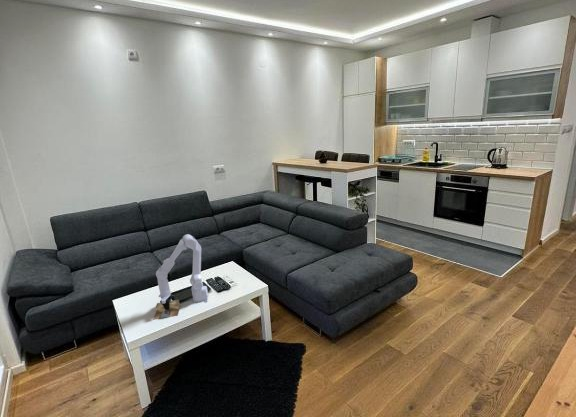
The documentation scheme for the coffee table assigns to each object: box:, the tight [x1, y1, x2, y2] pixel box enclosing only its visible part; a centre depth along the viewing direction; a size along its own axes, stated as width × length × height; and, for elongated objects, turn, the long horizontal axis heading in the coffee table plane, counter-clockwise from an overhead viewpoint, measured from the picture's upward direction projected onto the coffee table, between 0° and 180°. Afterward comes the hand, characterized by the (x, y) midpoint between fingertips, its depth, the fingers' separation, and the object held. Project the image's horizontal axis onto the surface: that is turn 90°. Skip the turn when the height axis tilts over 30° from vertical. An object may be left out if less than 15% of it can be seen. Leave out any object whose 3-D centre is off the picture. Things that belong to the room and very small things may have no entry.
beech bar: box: [155, 299, 181, 312], centre depth 188 cm, size 13×4×4 cm, turn 100°
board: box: [152, 306, 181, 321], centre depth 185 cm, size 14×11×1 cm
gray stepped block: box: [161, 310, 171, 319], centre depth 181 cm, size 5×4×2 cm
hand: (168, 307), depth 188 cm, fingers closed on beech bar, 4 cm apart
